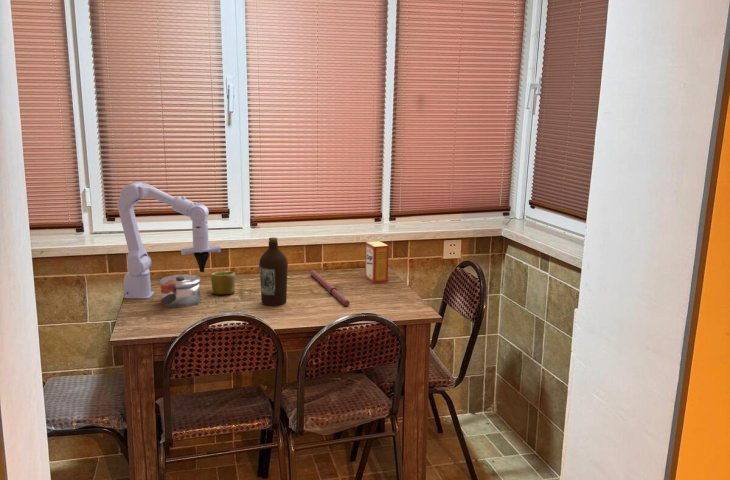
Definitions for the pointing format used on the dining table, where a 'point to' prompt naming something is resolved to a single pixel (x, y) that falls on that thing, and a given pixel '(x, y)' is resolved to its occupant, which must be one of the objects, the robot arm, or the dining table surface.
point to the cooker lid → (178, 282)
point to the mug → (223, 282)
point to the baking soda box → (376, 261)
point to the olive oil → (273, 275)
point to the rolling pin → (330, 288)
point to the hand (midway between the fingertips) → (201, 271)
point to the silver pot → (182, 297)
